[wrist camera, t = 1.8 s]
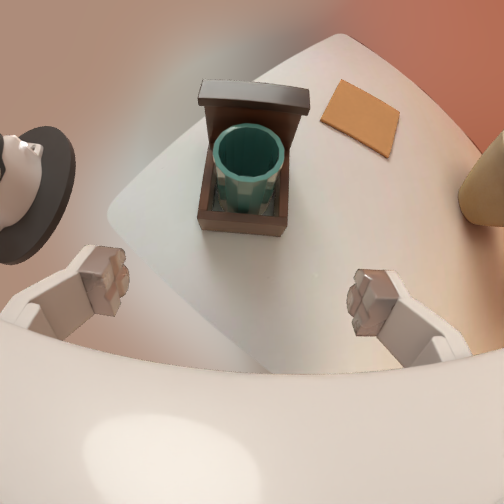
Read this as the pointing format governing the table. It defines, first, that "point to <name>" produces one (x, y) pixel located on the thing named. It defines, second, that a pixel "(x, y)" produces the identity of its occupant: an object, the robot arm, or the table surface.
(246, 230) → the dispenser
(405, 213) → the table surface
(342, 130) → the mat
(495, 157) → the plant pot
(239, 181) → the cup
